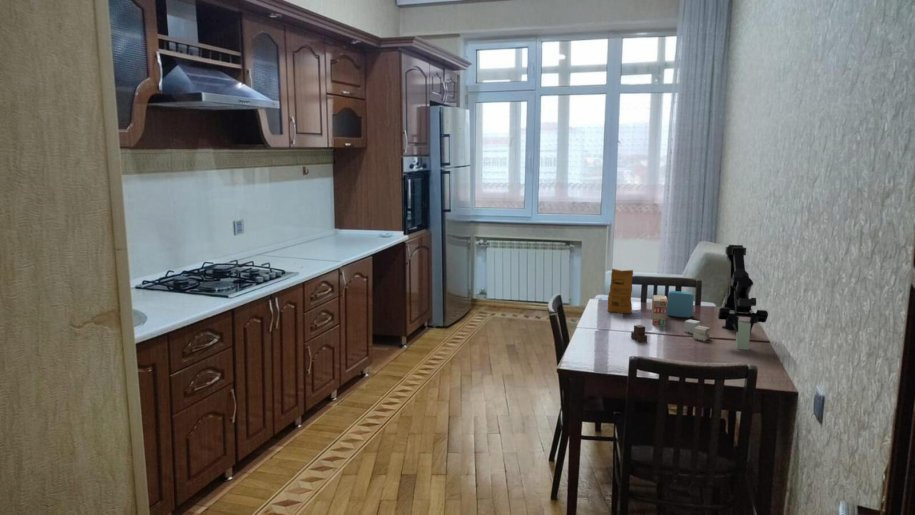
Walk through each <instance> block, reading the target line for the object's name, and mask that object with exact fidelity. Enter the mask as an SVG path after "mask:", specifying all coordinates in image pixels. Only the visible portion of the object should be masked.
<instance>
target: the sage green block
mask: <svg viewBox="0 0 915 515" xmlns="http://www.w3.org/2000/svg"><path fill="white" fill-rule="evenodd" d="M737 324H738V332H735V333H736V334H735V346H734V347H736V349H737V350H747V351H749V350H750V339H751V338H750V337H751V335H750V334H751V333H750V327H751V324H750V320H748V321H747V320H746V321H745V320H739V321H737Z"/></svg>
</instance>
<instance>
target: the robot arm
mask: <svg viewBox="0 0 915 515" xmlns="http://www.w3.org/2000/svg"><path fill="white" fill-rule="evenodd" d="M724 250H725V251H724V253H725V255H726V260H727V262H728V263H729V286H728V288H729V289H728V290H729V291H728V293H729V294H728V295H727V297H726V298H725V301H724V303H723V304H722V307H720V308H719V309H718V316H717V317H718V319H719V320H724V321H725V322H724V325H722V326H721V328H723V329H727V330H728V329H729V330H733V331H736V332H738V324H737V321H740V320H739V319H740V318H741V317H742V318H750V319H749V322H750V324H751V327H750V334H751V333H752V329H753V326H754V325H755V324H758V323H766V322H767V321H768V317H769V312H768V311H767V309H765V310H764V309H756V312H751V311H752V307H756V306H757V297H750V293H751V289H752V287H753V286H754V282H753V280H752V279H751V278H750V274H749V272H747V271H746V265H745V264H746V263H745V256H747V247H744V245H743V244H728V246H726V247H725V249H724ZM736 332H735V333H736Z"/></svg>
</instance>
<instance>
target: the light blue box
mask: <svg viewBox="0 0 915 515" xmlns="http://www.w3.org/2000/svg"><path fill="white" fill-rule="evenodd" d="M694 295H695V294H694V293H693V292H689V291H688V292H687V291H679V290H678V291H677V290H671V291H669V292H668V294H667V301H668V303H667V314H666V315H668V317H669V316H671V317H680V318H688V319H689V318H692V316H693V315H694V314H693V312H694V297H695V296H694Z"/></svg>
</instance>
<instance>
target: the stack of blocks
mask: <svg viewBox="0 0 915 515" xmlns="http://www.w3.org/2000/svg"><path fill="white" fill-rule="evenodd" d="M651 298H652V299H651V321H652V322H651V323H652V326H658V327H659V326H661V327H666V326H667V315H668V314H667V303H668V296H666V295H659V294H658V295H657V294H654V295H652V297H651Z"/></svg>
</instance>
